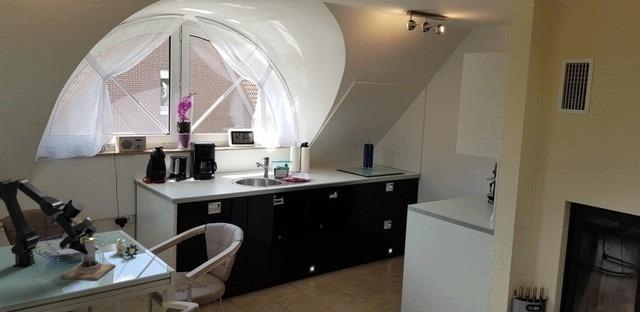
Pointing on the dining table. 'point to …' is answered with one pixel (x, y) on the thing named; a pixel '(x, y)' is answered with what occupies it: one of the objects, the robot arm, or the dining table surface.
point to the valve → (125, 248)
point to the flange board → (88, 276)
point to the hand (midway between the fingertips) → (91, 252)
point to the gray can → (90, 247)
